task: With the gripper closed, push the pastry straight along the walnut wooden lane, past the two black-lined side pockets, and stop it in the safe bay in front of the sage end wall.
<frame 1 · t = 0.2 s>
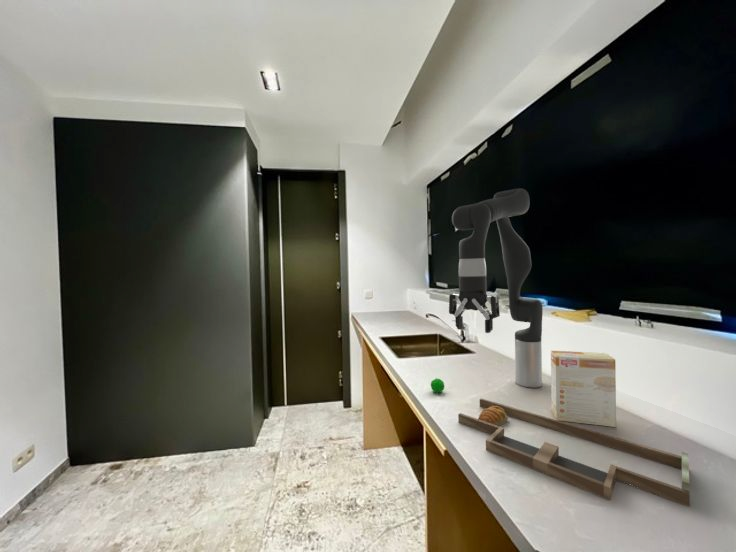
hand: (473, 330, 90), 28 cm above the countertop, tool pointing down, fingers open, 8 cm apart
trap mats: (546, 461, 73), on the countertop
polyhedron: (437, 392, 116), on the countertop
coffeecake box: (581, 419, 93), on the countertop
pastry: (492, 422, 93), on the countertop
lane: (556, 442, 81), on the countertop
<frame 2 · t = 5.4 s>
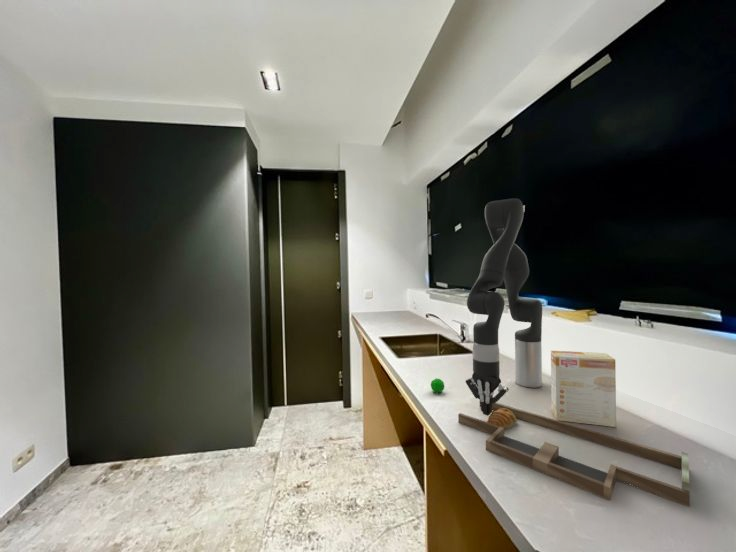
hand: (486, 413, 94), 2 cm above the countertop, tool pointing down, fingers closed
pastry: (501, 425, 91), on the countertop
everything else where it was.
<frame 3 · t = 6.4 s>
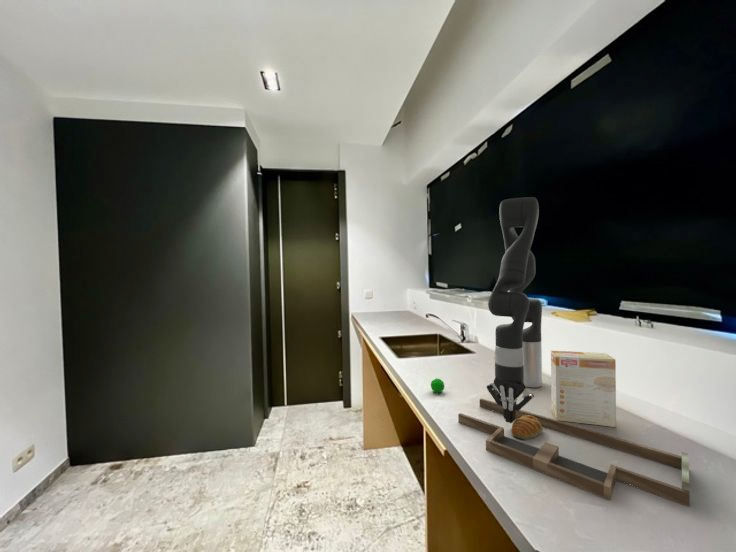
hand: (509, 421, 89), 2 cm above the countertop, tool pointing down, fingers closed
pastry: (526, 433, 87), on the countertop
everything else where it was.
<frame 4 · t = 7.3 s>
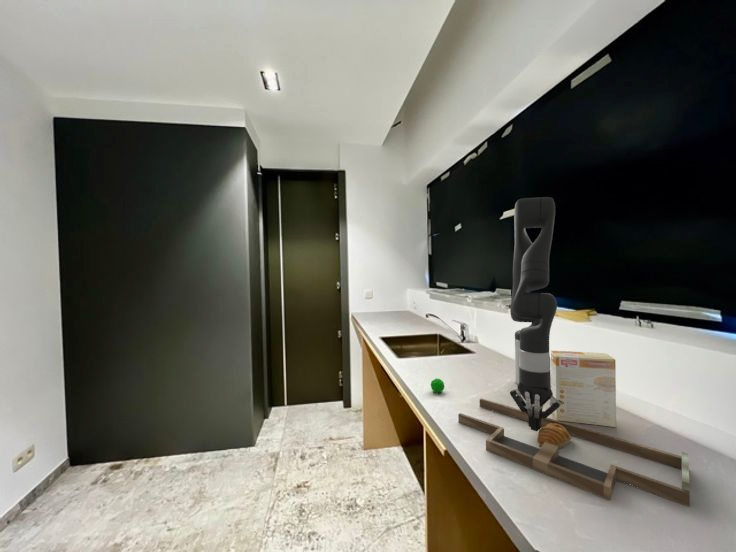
hand: (534, 429, 85), 2 cm above the countertop, tool pointing down, fingers closed
pastry: (553, 443, 82), on the countertop, touching gripper
everything else where it was.
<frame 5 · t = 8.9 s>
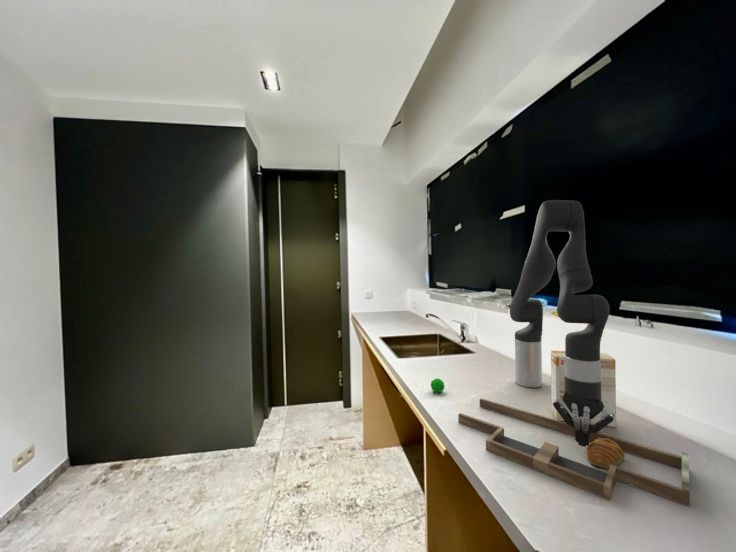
hand: (582, 444, 77), 2 cm above the countertop, tool pointing down, fingers closed
pastry: (604, 460, 74), on the countertop, touching gripper
everything else where it was.
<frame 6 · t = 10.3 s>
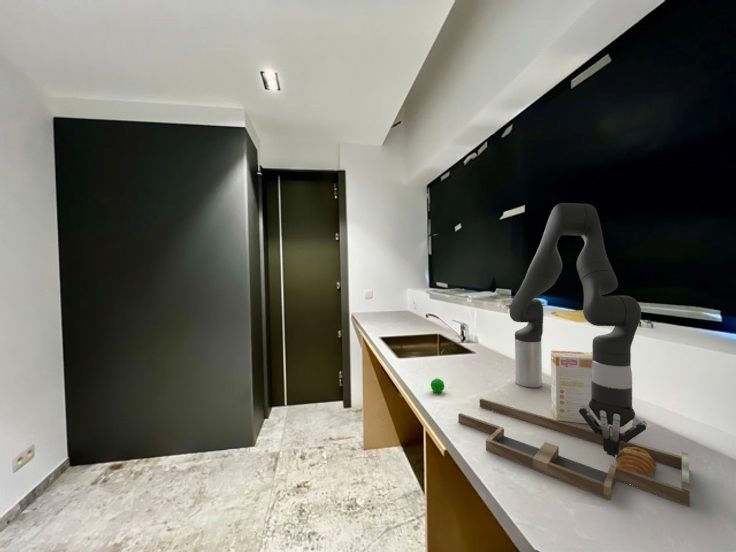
hand: (611, 454, 73), 2 cm above the countertop, tool pointing down, fingers closed
pastry: (636, 471, 70), on the countertop, touching gripper
everything else where it was.
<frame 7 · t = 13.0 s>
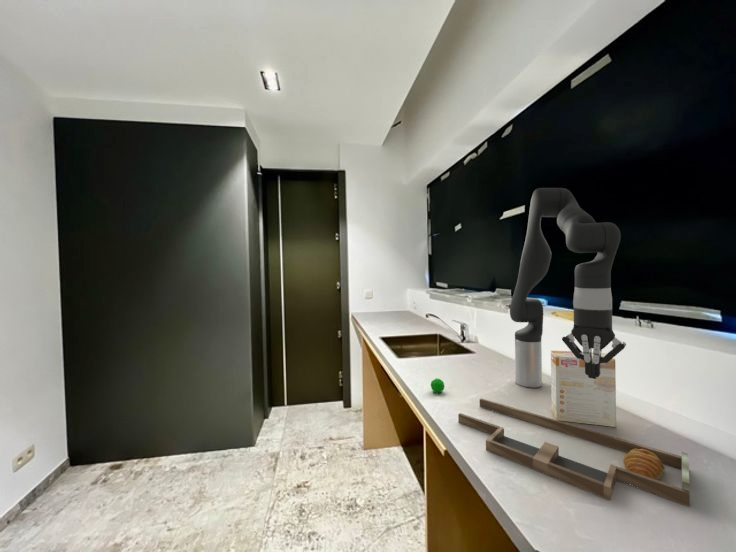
hand: (592, 377, 75), 19 cm above the countertop, tool pointing down, fingers closed
pastry: (644, 473, 69), on the countertop
everything else where it was.
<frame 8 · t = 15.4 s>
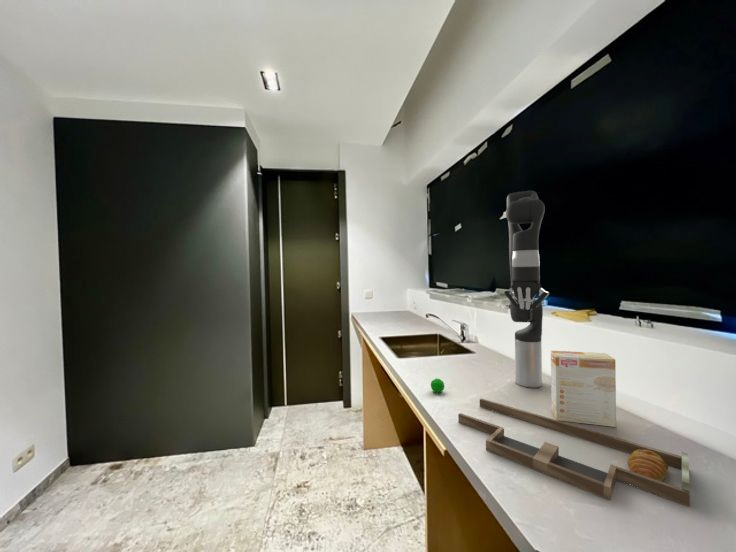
hand: (526, 321, 97), 29 cm above the countertop, tool pointing down, fingers closed
nothing on the countertop moved.
at the end: pastry inside the target area (0.3 cm from its centre), on the countertop; pastry tilted 0°; pastry moved 34.8 cm from its start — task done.
